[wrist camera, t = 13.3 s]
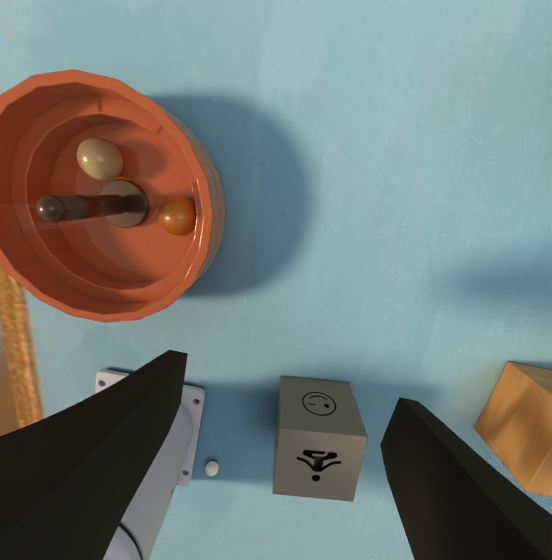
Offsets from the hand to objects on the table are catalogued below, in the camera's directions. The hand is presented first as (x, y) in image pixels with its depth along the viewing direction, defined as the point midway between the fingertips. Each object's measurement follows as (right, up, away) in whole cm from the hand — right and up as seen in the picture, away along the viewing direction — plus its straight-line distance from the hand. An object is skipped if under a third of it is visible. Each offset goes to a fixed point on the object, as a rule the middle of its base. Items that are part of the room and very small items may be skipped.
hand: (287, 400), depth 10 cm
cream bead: (-11, +11, +7) cm, 17 cm away
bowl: (-9, +9, +9) cm, 15 cm away
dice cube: (+2, -6, +13) cm, 14 cm away
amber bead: (-6, +8, +6) cm, 11 cm away
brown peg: (-9, +9, +8) cm, 15 cm away
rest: (+18, -5, +12) cm, 22 cm away
